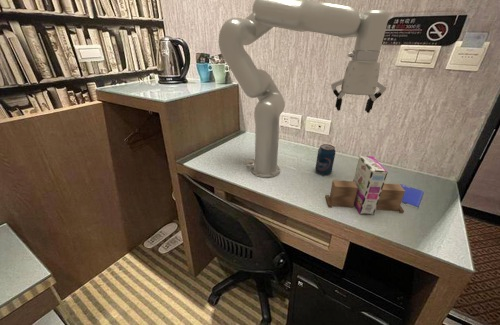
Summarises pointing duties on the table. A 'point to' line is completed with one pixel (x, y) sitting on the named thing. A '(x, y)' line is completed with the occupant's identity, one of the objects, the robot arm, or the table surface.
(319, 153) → the soda can
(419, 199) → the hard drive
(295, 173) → the table surface
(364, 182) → the candy bar box
